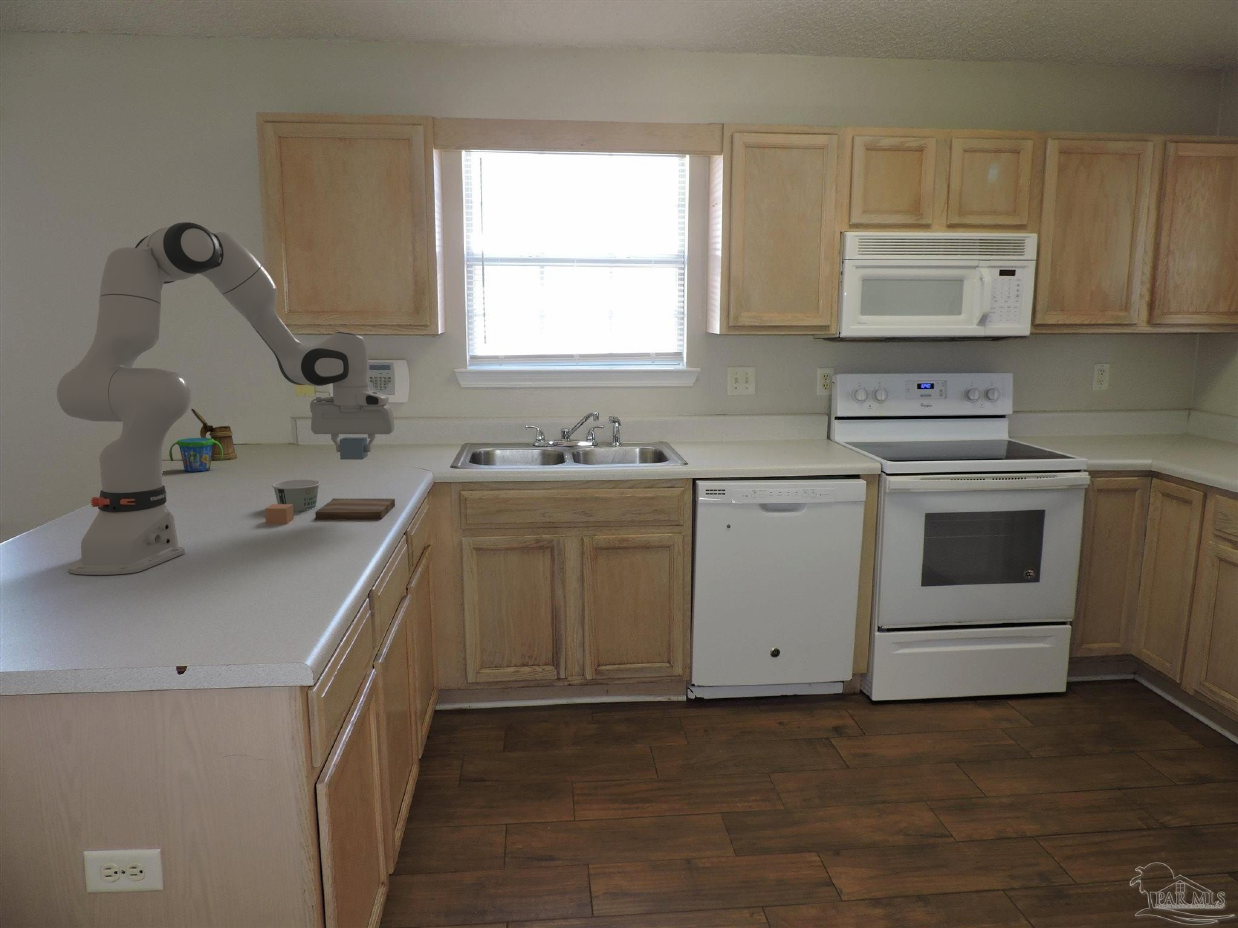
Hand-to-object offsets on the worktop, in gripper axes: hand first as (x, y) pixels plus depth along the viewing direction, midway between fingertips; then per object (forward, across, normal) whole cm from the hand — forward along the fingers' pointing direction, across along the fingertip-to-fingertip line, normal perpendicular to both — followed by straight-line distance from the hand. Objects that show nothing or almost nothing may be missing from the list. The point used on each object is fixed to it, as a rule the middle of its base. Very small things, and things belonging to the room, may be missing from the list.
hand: (354, 451), depth 221 cm
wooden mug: (+16, -71, +86) cm, 113 cm away
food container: (+16, -17, +6) cm, 24 cm away
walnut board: (+16, 0, 0) cm, 16 cm away
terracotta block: (+16, -16, -10) cm, 25 cm away
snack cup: (+16, -67, +62) cm, 93 cm away
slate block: (+2, 0, 0) cm, 2 cm away
